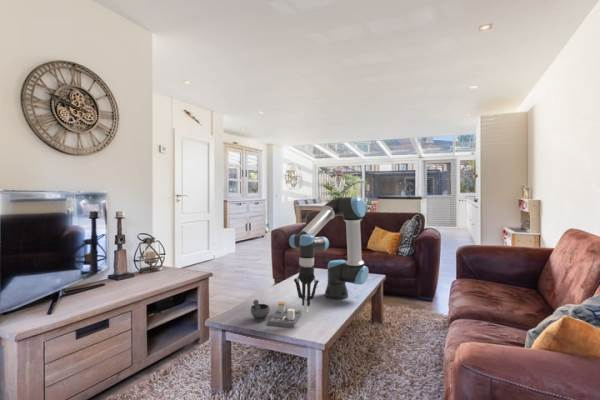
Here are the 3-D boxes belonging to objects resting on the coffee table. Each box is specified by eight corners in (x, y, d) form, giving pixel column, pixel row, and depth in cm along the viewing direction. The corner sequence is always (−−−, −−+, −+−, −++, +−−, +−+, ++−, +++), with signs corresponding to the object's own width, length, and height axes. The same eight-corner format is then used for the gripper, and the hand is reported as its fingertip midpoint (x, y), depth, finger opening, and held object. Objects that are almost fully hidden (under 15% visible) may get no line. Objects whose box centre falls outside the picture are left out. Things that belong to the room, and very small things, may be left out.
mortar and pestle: (256, 315, 173) (256, 293, 173) (272, 317, 170) (272, 295, 170) (246, 323, 162) (246, 300, 162) (263, 325, 159) (263, 302, 159)
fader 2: (294, 317, 164) (294, 309, 164) (293, 320, 161) (293, 311, 161) (288, 317, 165) (288, 308, 165) (287, 319, 162) (287, 310, 162)
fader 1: (285, 310, 175) (285, 302, 174) (283, 312, 171) (283, 304, 171) (279, 309, 175) (279, 301, 175) (278, 311, 172) (278, 303, 172)
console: (301, 314, 175) (301, 310, 175) (293, 327, 157) (293, 323, 157) (278, 312, 178) (278, 308, 178) (268, 325, 160) (268, 320, 160)
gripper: (320, 264, 163) (319, 310, 163) (295, 263, 166) (295, 308, 166) (318, 267, 155) (317, 316, 156) (292, 266, 158) (291, 313, 159)
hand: (306, 312), depth 161 cm, fingers closed
